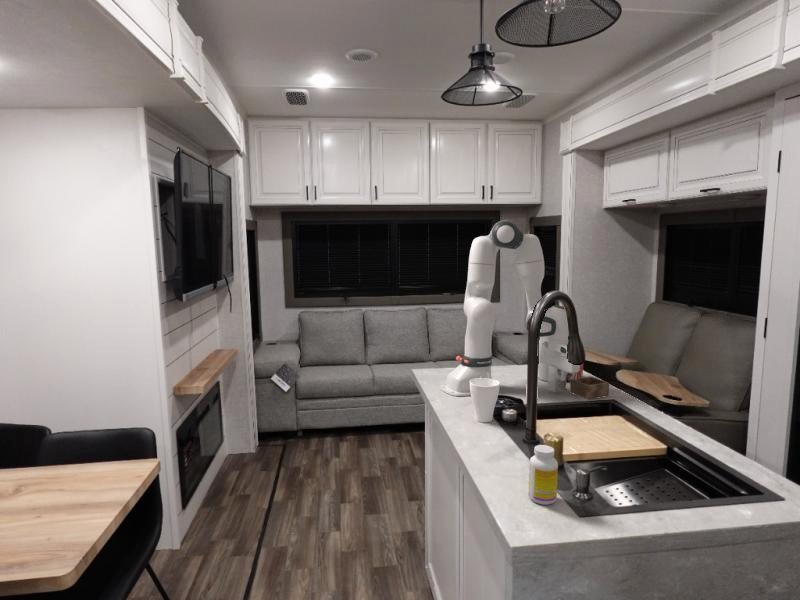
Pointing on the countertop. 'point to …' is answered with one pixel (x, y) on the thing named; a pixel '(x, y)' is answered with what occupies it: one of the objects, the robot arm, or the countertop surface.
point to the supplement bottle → (543, 475)
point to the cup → (484, 397)
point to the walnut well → (589, 387)
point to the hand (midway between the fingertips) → (557, 378)
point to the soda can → (575, 374)
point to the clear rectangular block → (555, 379)
